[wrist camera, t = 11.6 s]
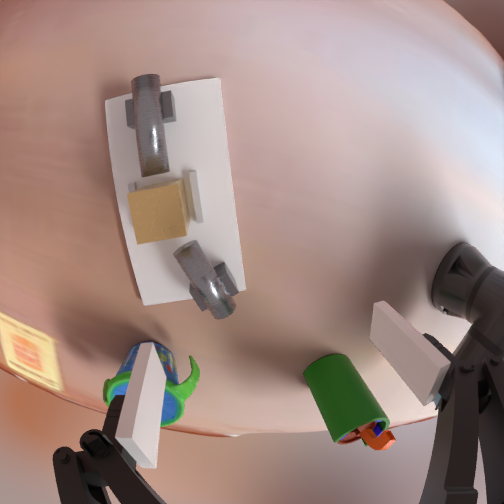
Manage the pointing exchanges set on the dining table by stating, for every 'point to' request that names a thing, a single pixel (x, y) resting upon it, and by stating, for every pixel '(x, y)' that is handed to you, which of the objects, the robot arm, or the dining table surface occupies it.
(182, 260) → the shaft
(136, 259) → the base plate
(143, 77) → the shaft
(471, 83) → the dining table surface
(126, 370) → the snack cup
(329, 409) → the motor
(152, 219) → the block
